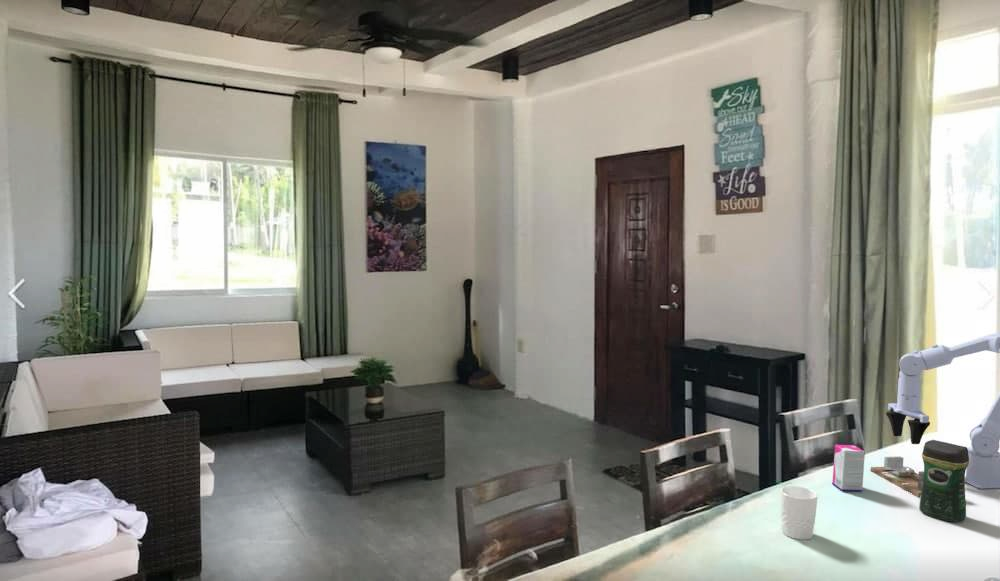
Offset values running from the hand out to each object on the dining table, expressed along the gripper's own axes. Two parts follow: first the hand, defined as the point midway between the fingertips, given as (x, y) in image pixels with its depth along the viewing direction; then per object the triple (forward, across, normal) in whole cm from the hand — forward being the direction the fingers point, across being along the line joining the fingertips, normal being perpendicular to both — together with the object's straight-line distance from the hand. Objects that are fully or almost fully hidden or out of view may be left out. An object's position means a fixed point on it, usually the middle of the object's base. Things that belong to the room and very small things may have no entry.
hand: (906, 439), depth 200 cm
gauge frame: (+9, +9, -5) cm, 14 cm away
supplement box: (+10, +11, -25) cm, 29 cm away
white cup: (+10, +36, -55) cm, 66 cm away
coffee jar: (+10, +30, -13) cm, 34 cm away
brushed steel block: (+8, +6, -6) cm, 12 cm away
